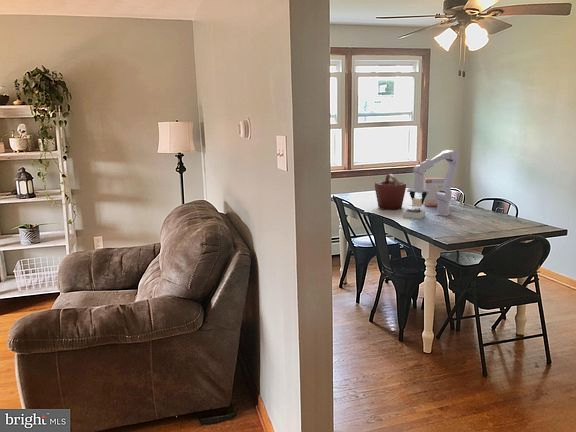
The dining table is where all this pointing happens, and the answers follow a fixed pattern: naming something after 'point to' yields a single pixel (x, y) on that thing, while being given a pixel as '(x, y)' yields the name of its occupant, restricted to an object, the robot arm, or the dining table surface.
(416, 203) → the carton
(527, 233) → the dining table surface
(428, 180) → the cracker box
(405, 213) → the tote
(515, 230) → the dining table surface
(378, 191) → the bucket
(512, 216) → the dining table surface
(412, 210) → the metal block
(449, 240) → the dining table surface
